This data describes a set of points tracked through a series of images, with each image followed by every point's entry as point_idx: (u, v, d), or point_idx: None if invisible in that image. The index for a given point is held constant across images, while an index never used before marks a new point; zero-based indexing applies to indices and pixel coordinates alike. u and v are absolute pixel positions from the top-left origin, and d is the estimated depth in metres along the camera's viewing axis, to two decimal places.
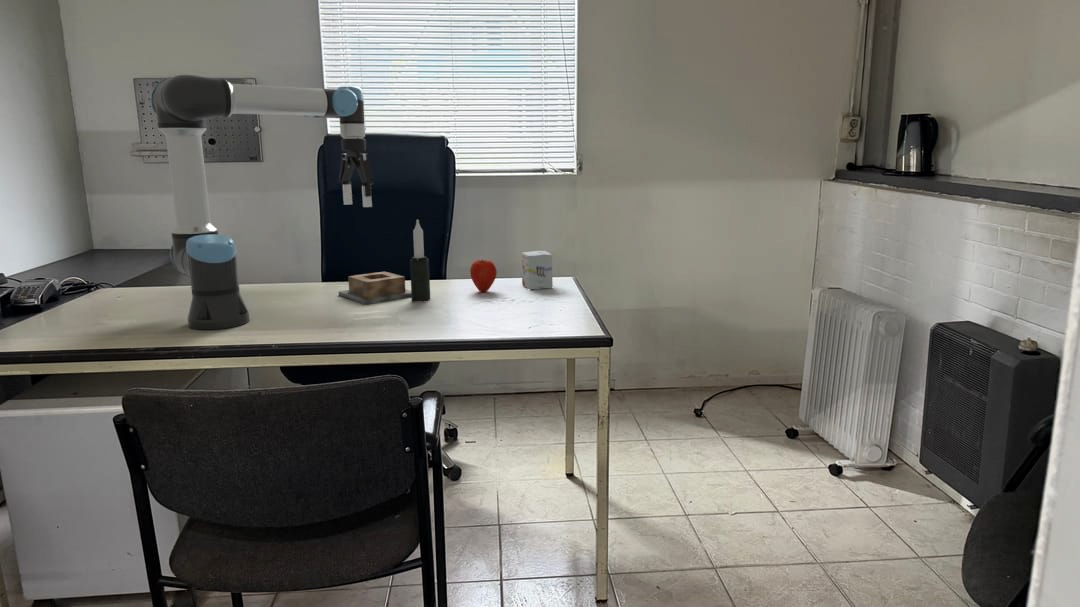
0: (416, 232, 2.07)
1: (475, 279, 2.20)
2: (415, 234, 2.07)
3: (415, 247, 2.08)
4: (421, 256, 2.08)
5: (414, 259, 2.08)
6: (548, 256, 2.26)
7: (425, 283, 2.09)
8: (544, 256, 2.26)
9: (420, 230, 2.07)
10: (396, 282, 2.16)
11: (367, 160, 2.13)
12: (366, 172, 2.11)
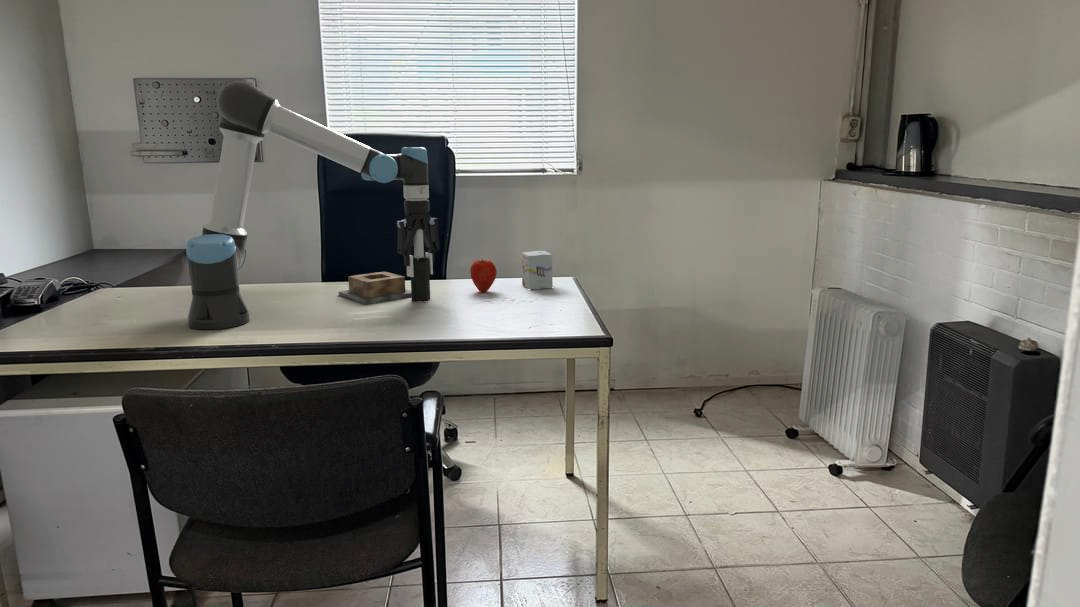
0: (416, 232, 2.07)
1: (475, 279, 2.20)
2: (415, 234, 2.07)
3: (415, 247, 2.08)
4: (421, 256, 2.08)
5: (414, 259, 2.08)
6: (548, 256, 2.26)
7: (425, 283, 2.09)
8: (544, 256, 2.26)
9: (420, 230, 2.07)
10: (396, 282, 2.16)
11: (400, 228, 2.03)
12: (398, 241, 2.05)
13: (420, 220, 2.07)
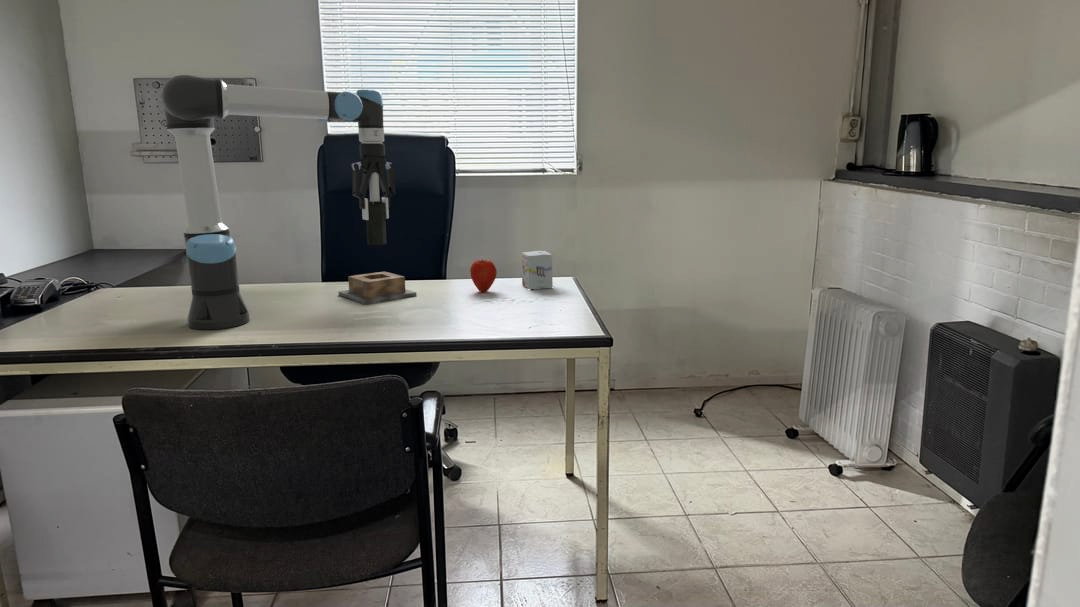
0: (371, 176, 2.09)
1: (475, 279, 2.20)
2: (371, 177, 2.09)
3: (370, 191, 2.10)
4: (376, 200, 2.11)
5: (369, 202, 2.10)
6: (548, 256, 2.26)
7: (380, 226, 2.11)
8: (544, 256, 2.26)
9: (375, 173, 2.09)
10: (396, 282, 2.16)
11: (355, 171, 2.05)
12: (353, 184, 2.07)
13: (375, 163, 2.09)
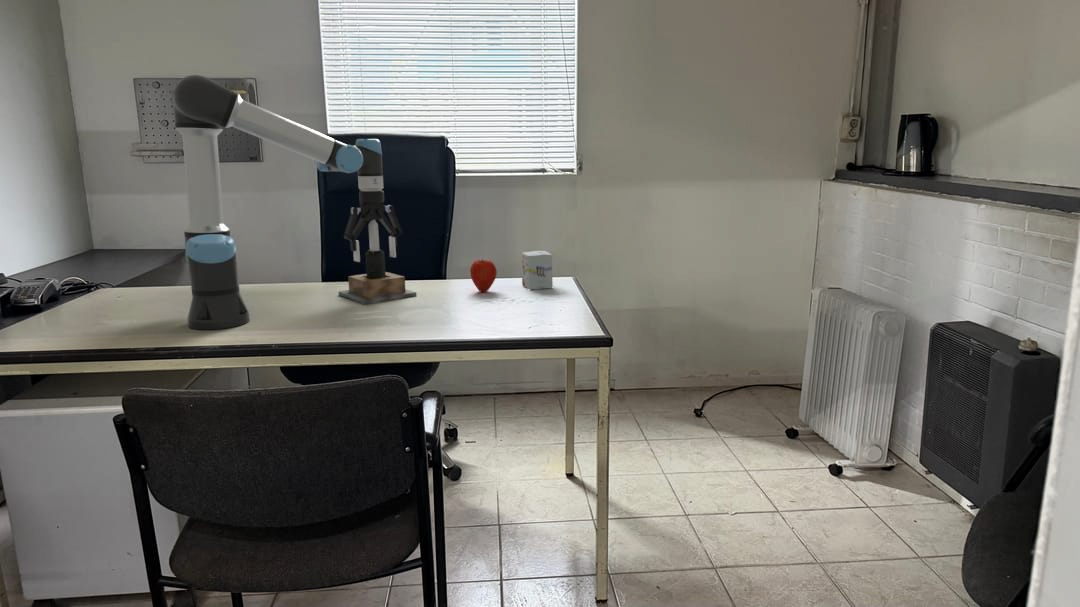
0: (371, 226, 2.13)
1: (475, 279, 2.20)
2: (370, 227, 2.13)
3: (370, 241, 2.14)
4: (376, 249, 2.15)
5: (369, 252, 2.14)
6: (548, 256, 2.26)
7: (380, 275, 2.15)
8: (544, 256, 2.26)
9: (375, 224, 2.13)
10: (396, 282, 2.16)
11: (353, 214, 2.08)
12: (347, 226, 2.09)
13: (375, 211, 2.13)
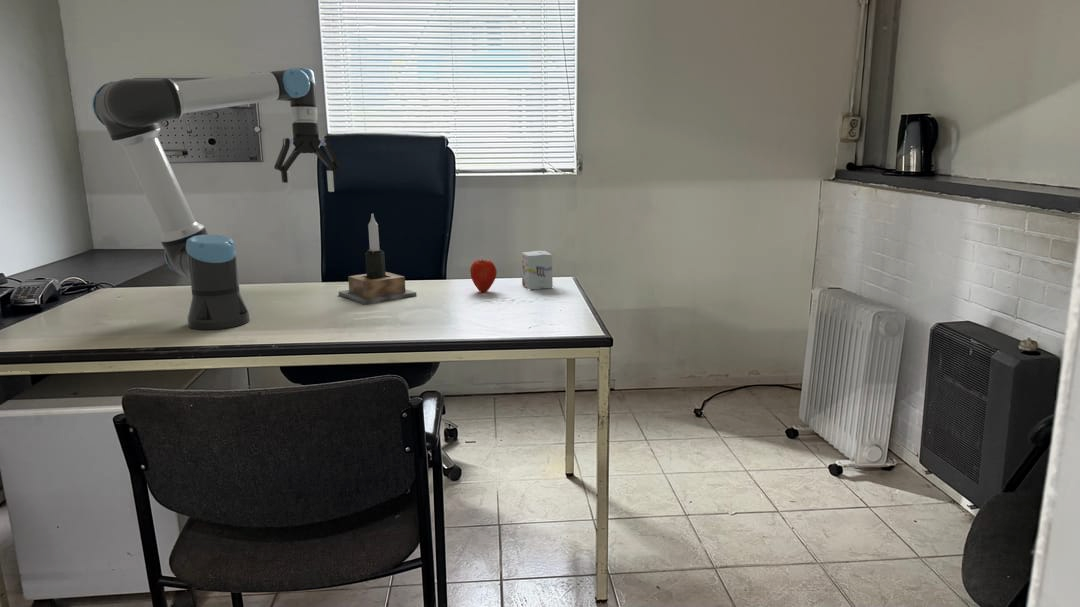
0: (371, 226, 2.13)
1: (475, 279, 2.20)
2: (370, 227, 2.13)
3: (370, 241, 2.14)
4: (376, 249, 2.15)
5: (369, 252, 2.14)
6: (548, 256, 2.26)
7: (380, 275, 2.15)
8: (544, 256, 2.26)
9: (375, 224, 2.13)
10: (396, 282, 2.16)
11: (285, 145, 2.04)
12: (278, 157, 2.05)
13: (309, 144, 2.09)
